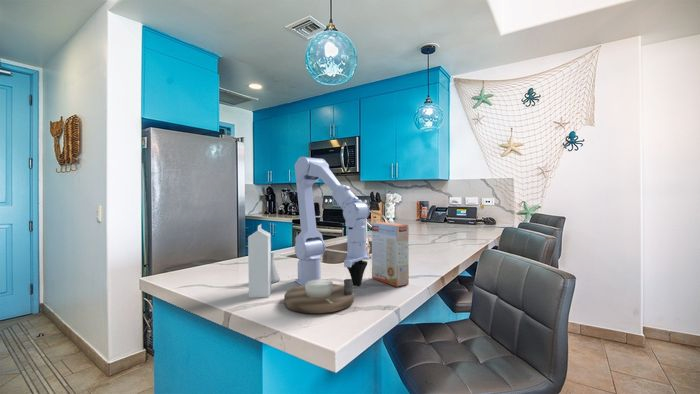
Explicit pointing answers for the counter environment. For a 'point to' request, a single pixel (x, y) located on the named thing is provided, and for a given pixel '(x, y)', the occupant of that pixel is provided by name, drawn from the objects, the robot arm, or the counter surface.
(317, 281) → the dish
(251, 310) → the counter surface
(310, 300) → the turntable
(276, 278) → the flask
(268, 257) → the milk
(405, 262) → the cracker box
